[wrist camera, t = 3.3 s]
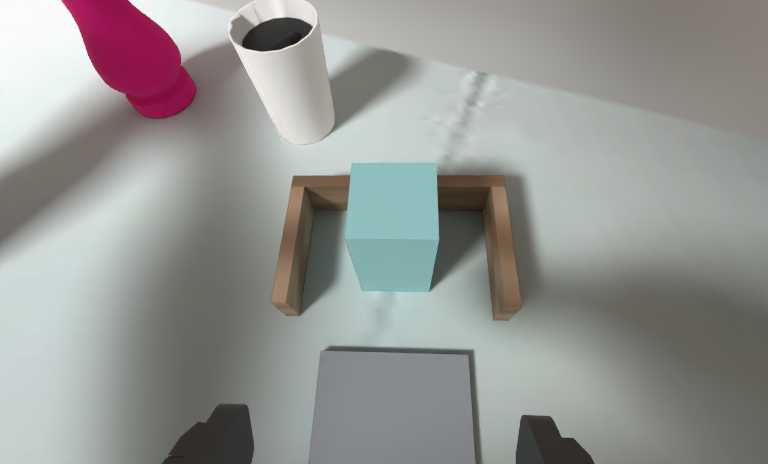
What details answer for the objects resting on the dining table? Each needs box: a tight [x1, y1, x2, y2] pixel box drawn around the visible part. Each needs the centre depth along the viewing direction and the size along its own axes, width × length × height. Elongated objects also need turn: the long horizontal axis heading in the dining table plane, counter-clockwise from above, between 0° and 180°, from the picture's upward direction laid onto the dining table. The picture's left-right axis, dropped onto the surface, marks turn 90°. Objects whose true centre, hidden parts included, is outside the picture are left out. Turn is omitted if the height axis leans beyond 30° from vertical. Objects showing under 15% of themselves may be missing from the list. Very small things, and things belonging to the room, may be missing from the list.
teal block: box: [345, 163, 439, 292], centre depth 24 cm, size 5×5×9 cm
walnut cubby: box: [271, 176, 522, 321], centre depth 27 cm, size 10×16×4 cm, turn 88°
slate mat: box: [308, 351, 476, 464], centre depth 23 cm, size 10×10×1 cm
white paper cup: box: [227, 0, 335, 145], centre depth 31 cm, size 7×7×10 cm
